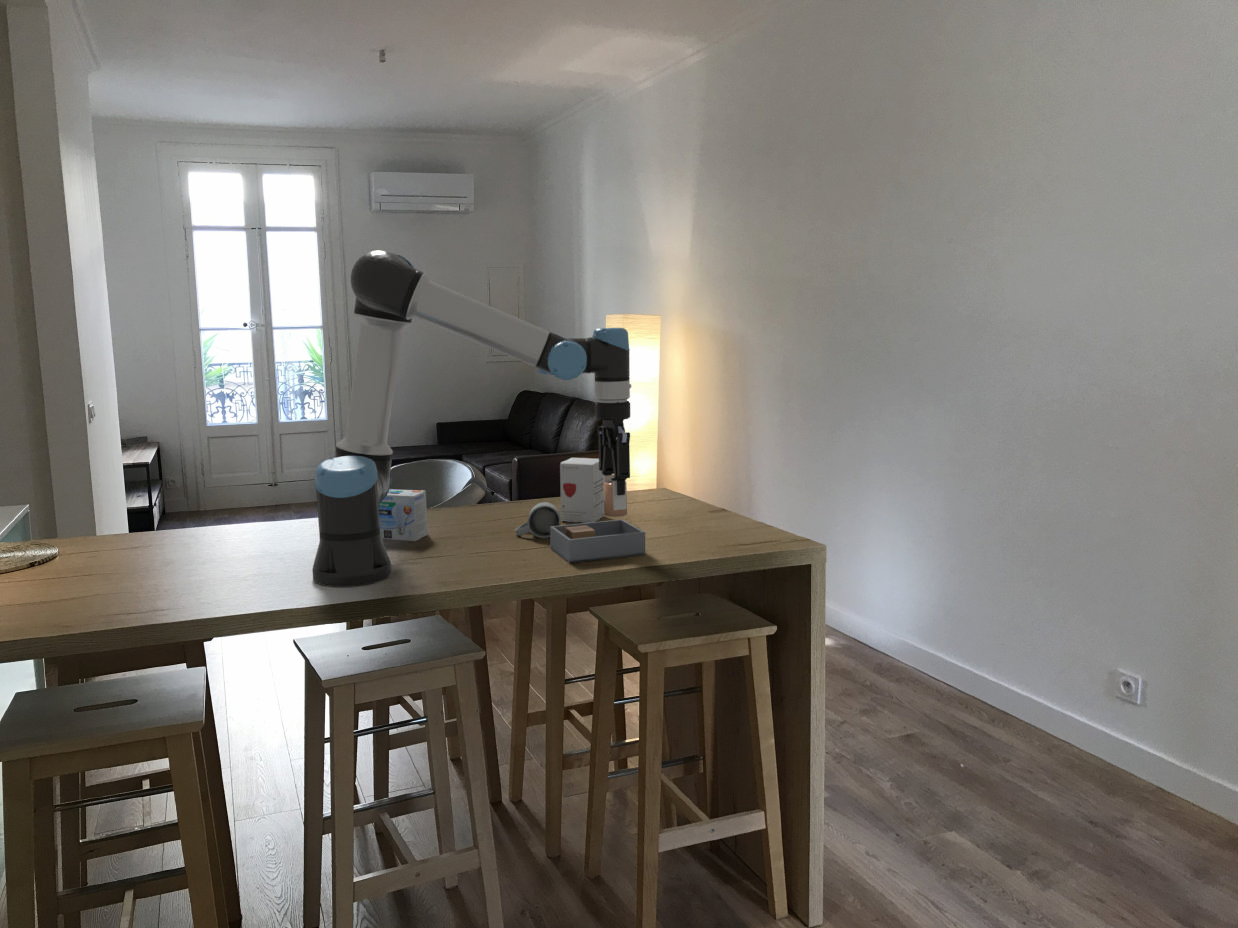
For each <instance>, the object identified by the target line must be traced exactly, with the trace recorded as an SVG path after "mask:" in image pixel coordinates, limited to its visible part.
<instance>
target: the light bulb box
mask: <svg viewBox="0 0 1238 928" xmlns="http://www.w3.org/2000/svg"><path fill="white" fill-rule="evenodd" d="M427 511H428V510H427V492H426V490H423V489H421V490H420V489H419V490H416V489H414V490H413V489H393V488H390V490H389V492H388V494H387V496H386V497H385V498H384V499H383V501H381V502H380V503H379V521H380V536H381V539H382V540H389V541H403V542H404V541H406V542H417V541H418V540H420V539H422V538H424V537H426V536H428V534H429V532H428V512H427Z"/></svg>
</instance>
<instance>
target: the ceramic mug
mask: <svg viewBox="0 0 1238 928" xmlns="http://www.w3.org/2000/svg"><path fill="white" fill-rule="evenodd" d="M561 522H562V521H561V513H560V511H559V510H558V508H557V506H555V505H554V504H553V503H550V502H547V501H543V502H539V503H537V504H535V505H533V507H532V508H531V509H530V512H529V514H528V516H527V521H526V522H524V523H522V524H520V525H519V526H518V527H516V528H515V530H514V531H515V533H516V535H517V536H523V535H526V534H528V533H531V534H532V535H533V536H535V537H537V538H538V539H539V538H540V539H548V537H549V538H550V526H560V525H562V523H561Z"/></svg>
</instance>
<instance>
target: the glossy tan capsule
mask: <svg viewBox="0 0 1238 928" xmlns="http://www.w3.org/2000/svg"><path fill="white" fill-rule="evenodd" d="M603 487H604V517H609V518H610V517H612V518H619V517H624V516H627V515H628V495H627V486H626V509H623V510H613V481H607V482H604V483H603Z"/></svg>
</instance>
